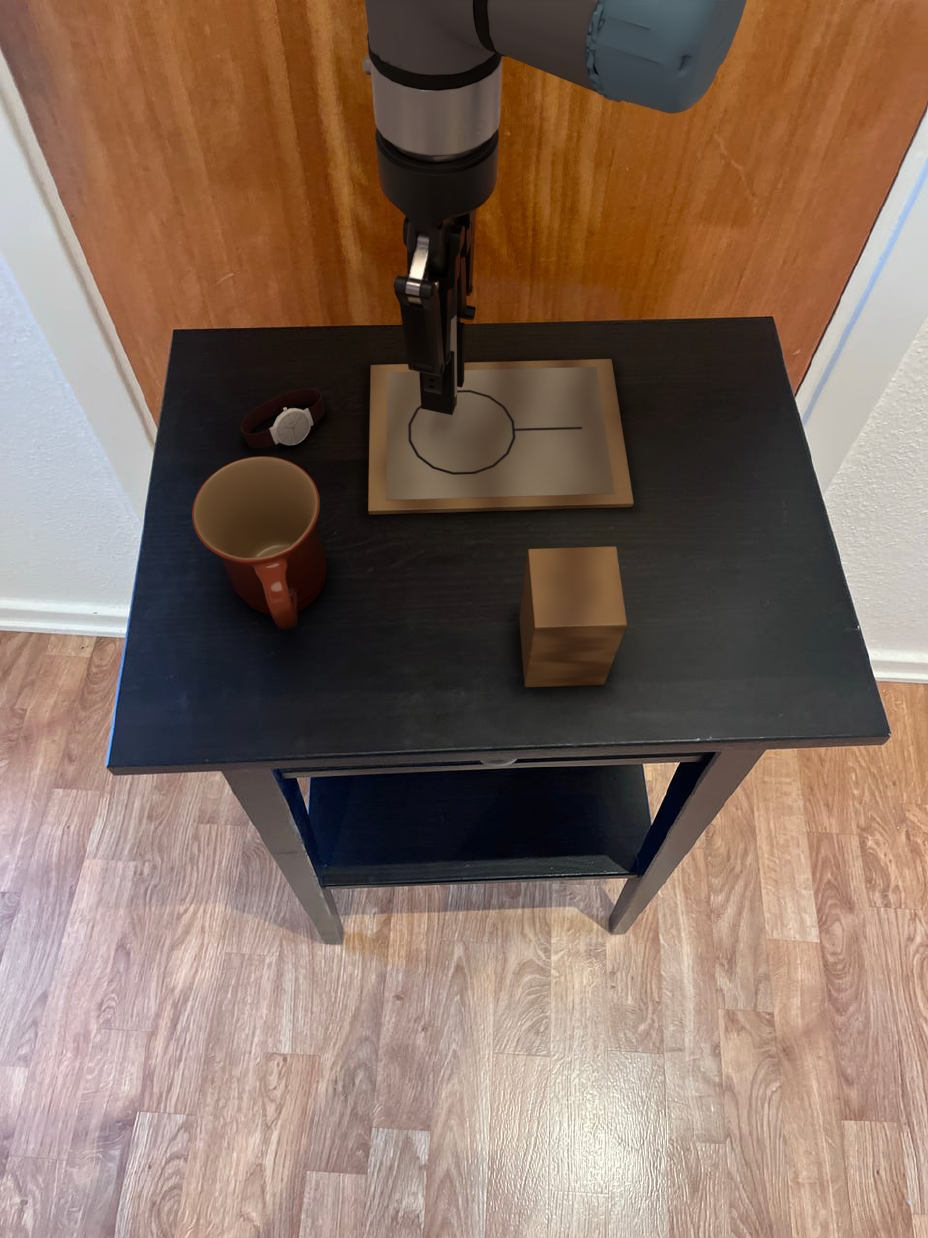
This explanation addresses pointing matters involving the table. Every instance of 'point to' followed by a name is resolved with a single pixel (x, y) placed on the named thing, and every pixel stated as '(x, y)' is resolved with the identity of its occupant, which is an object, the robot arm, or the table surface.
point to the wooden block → (571, 616)
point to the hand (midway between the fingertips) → (442, 394)
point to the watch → (284, 418)
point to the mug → (265, 533)
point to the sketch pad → (499, 440)
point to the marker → (454, 333)
